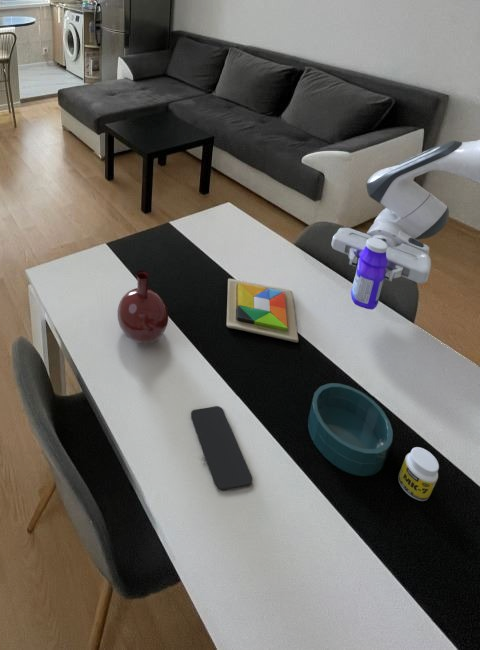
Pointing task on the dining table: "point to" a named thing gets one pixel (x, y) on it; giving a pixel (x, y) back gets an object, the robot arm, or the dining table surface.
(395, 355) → the dining table surface
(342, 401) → the teal bowl
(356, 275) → the bottle
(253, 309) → the wooden puzzle
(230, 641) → the dining table surface
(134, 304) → the round-bottom flask
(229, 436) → the phone
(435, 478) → the supplement bottle
